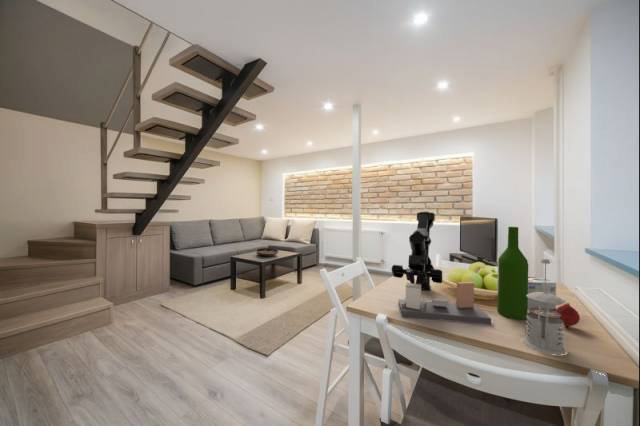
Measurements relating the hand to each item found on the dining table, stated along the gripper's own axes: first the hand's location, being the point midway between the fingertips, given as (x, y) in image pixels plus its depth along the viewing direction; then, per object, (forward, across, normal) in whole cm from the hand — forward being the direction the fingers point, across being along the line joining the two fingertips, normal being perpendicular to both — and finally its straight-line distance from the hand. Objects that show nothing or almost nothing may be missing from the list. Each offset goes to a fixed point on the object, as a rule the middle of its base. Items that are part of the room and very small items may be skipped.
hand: (414, 292), depth 95 cm
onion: (-3, +47, +13) cm, 49 cm away
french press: (+11, +36, 0) cm, 38 cm away
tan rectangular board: (-1, +17, +9) cm, 19 cm away
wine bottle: (-5, +32, +16) cm, 36 cm away
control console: (+3, +9, +7) cm, 12 cm away
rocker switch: (+1, +9, +6) cm, 11 cm away
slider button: (+5, 0, +2) cm, 5 cm away
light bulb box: (-16, +42, +26) cm, 52 cm away
